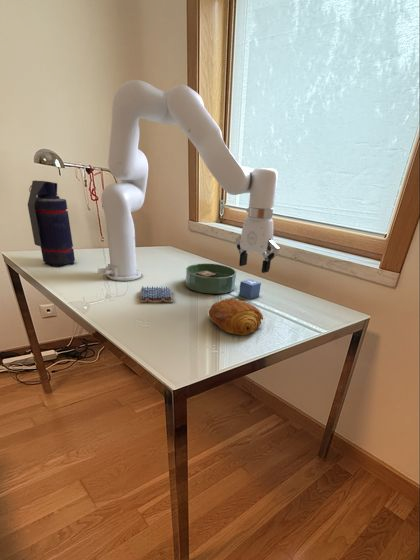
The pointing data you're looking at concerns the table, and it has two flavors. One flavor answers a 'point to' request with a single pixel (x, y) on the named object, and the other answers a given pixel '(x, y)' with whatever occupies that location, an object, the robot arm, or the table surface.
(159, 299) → the spiked square pad
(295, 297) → the table surface
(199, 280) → the faceted green bowl
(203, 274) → the walnut block
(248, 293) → the periwinkle blue block
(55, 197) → the grenade
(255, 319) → the croissant
